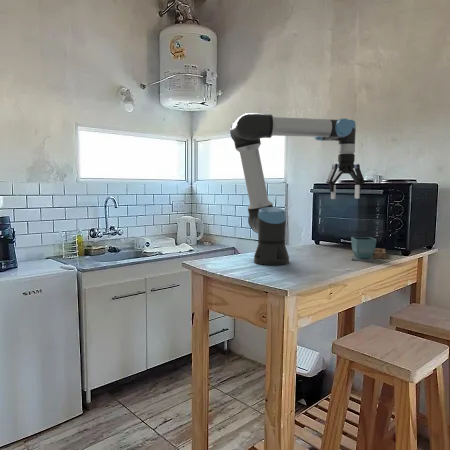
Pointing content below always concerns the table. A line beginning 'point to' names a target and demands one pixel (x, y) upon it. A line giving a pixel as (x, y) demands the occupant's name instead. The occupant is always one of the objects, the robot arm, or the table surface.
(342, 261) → the table surface
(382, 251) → the wooden tray
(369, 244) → the flower pot
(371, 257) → the mat
